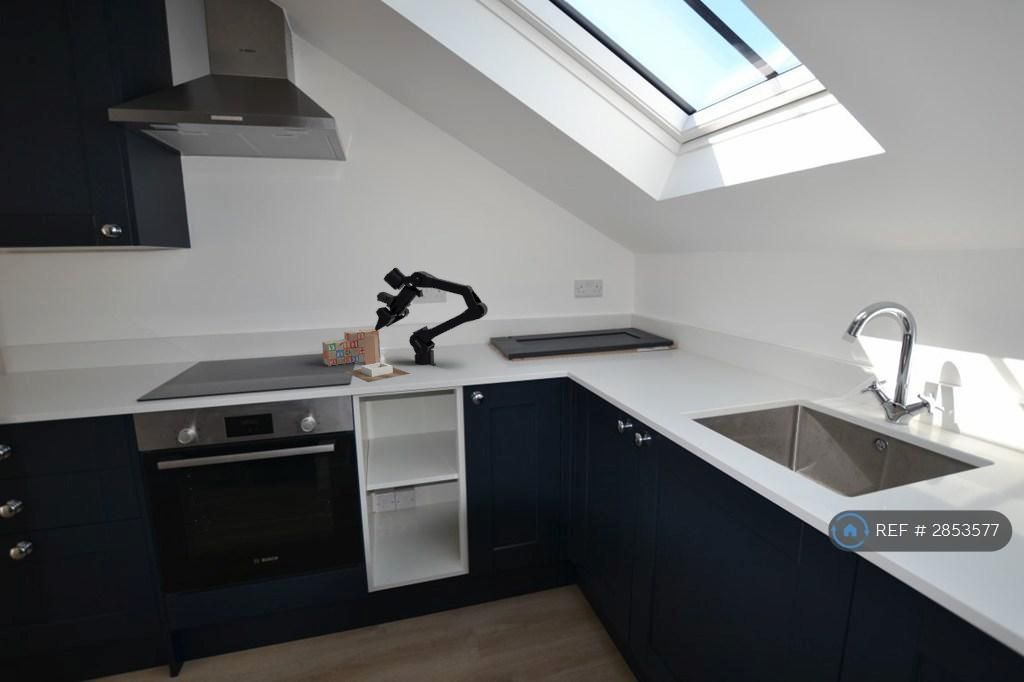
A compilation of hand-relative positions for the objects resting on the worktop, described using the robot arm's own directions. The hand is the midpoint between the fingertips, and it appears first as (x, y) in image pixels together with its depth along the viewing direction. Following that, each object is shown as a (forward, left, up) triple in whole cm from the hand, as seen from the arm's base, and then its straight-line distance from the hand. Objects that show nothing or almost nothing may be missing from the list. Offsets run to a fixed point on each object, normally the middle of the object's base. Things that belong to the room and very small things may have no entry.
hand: (381, 328), depth 184 cm
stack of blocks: (+16, -3, -15) cm, 22 cm away
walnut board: (-6, +15, -15) cm, 22 cm away
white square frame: (-6, +15, -14) cm, 21 cm away
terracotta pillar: (+3, +3, -15) cm, 15 cm away
